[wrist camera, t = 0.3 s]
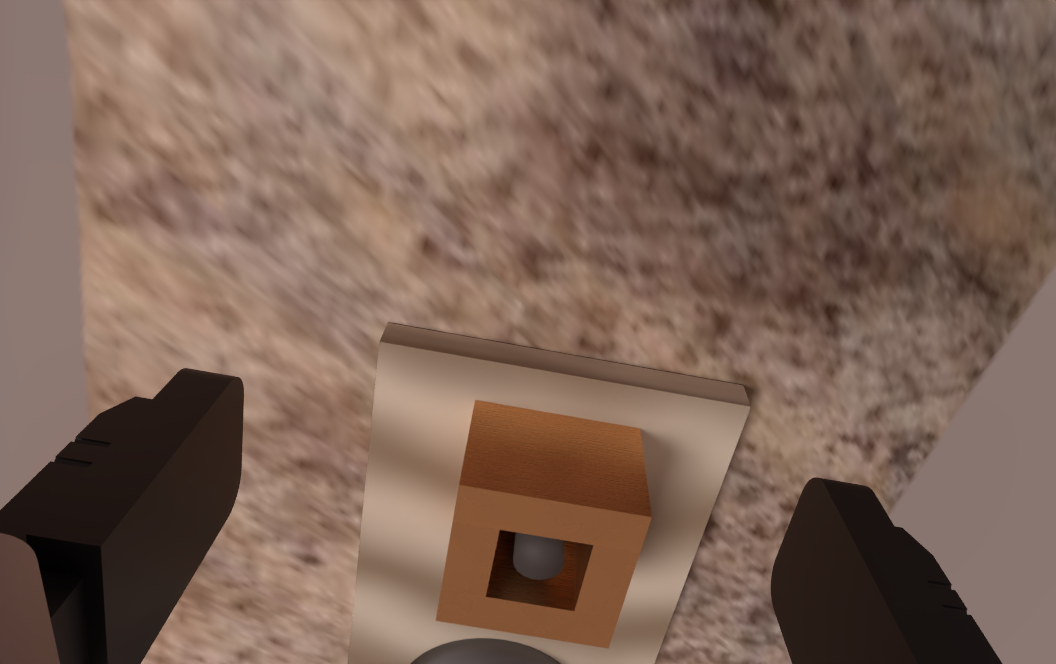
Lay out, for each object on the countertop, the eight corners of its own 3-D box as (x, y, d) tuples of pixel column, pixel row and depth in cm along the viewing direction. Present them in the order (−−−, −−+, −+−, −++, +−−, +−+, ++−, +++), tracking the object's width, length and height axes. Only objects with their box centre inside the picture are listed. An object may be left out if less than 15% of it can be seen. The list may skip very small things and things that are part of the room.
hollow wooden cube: (474, 399, 30) (458, 485, 26) (639, 428, 30) (651, 517, 26) (453, 525, 33) (435, 620, 29) (603, 550, 34) (608, 648, 29)
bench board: (388, 322, 30) (341, 429, 24) (743, 385, 31) (785, 505, 25) (346, 717, 42) (308, 858, 36) (607, 757, 43) (613, 902, 36)
